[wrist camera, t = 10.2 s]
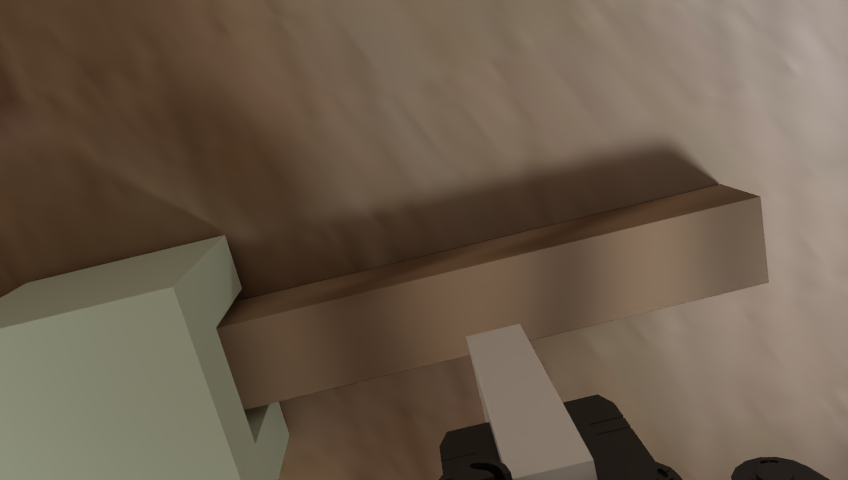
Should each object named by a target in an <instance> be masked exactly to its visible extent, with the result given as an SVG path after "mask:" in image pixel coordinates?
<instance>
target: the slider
mask: <svg viewBox="0 0 848 480" xmlns="http://www.w3.org/2000/svg"><path fill="white" fill-rule="evenodd" d="M241 289H242V287H241V284H240V281H239V277H238V274H237V271H236V268H235V265H234V262H233V259H232V256H231V253H230V250H229V246H228V243H227V240H226V237H225V235H223V236H218V237H214V238H210V239H206V240H202V241H198V242H194V243H189V244H185V245H181V246H177V247H173V248H169V249H165V250H160V251H156V252H152V253H148V254H144V255H140V256H136V257H132V258H127V259H123V260H119V261H115V262H111V263H107V264H103V265H98V266H94V267H90V268H86V269H82V270H78V271H74V272H69V273H65V274H61V275H57V276H53V277H49V278H45V279H40V280H36V281H32V282H28V283H25V284H24V285H22V286H20V287H18V288H17V289H15V290H13V291H11V292H10V293H8V294H6V295H4V296H3V297H1V298H0V480H278V479H279V475H280V471H281V467H282V463H283V459H284V456H285V452H286V448H287V444H288V440H289V432H288V429H287V426H286V423H285V420H284V417H283V414H282V411H281V408H280V405H279V402H276V403H271V404H267V405H263V406H259V407H255V408H251V409H247V410H244V409H243V406H242V403H241V400H240V397H239V394H238V391H237V389H236V386H235V383H234V380H233V377H232V374H231V371H230V368H229V365H228V362H227V359H226V356H225V353H224V350H223V347H222V344H221V341H220V338H219V335H218V333H217V330H216V327H217V326H218V324H219V323H220V321H221V320H222V318H223V317H224V315H225V314H226V312H227V311H228V309H229V307H230V306H231V304H232V303H233V301H234V300H235V298H236V297H237V295H238V294H239V292H240V291H241Z"/></svg>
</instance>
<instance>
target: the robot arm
mask: <svg viewBox="0 0 848 480" xmlns="http://www.w3.org/2000/svg"><path fill="white" fill-rule="evenodd" d="M466 339H467V344H468V348H469V352H470V357H471V361H472V365H473V369H474V374H475V378H476V382H477V386H478V391H479V395H480V399H481V404H482V408H483V412H484V416H485V421H486V423H483V424H479V425H474V426H470V427H466V428H462V429H457V430H453V431H449V432H447V433H446V435H445V437H444V439H443V441H442V443H441V445H440V454H441V461H442V469H443V475H442V476H441V478H440V479H439V480H682V478H681V477H680V476H679V475H678V474H677V473H676V472H675V471H674V470H673V469H671V468H670V467H668V466H666V465H663V464H660V463H658V462H655V461H654V459H653V458H652V456H651V455H650V453H649V452H648V451H647V449H646V448H645V446H644V445H643V444H642V442H641V441H640V439H639V438H638V436H637V435H636V434H635V432H634V431H633V429H631V427H630V425H629V424H628V422H627V421H626V419H625V418H623V415H622V414H621V412H620V411H619V410H618V408H617V407H616V405H615V404H614V403H613V402H611V401H609V400H607V399H605V398H603V397H601V396H599V395H594V396H590V397H585V398H581V399H577V400H573V401H569V402H564V403H562V401H561V399H560V397H559V395H558V393H557V392H556V390H555V388H554V386H553V384H552V382H551V380H550V379H549V377H548V375H547V373H546V371H545V369H544V368H543V366H542V364H541V362H540V360H539V358H538V356H537V355H536V353H535V351H534V349H533V347H532V345H531V344H530V342H529V340H528V338H527V336H526V334H525V333H524V331H523V329H522V327H521V325H520V324H516V325H512V326H508V327H504V328H500V329H495V330H491V331H487V332H483V333H479V334H474V335H470V336H466ZM731 479H732V480H829V479H828V478H826V477H824V476H823V475H821V474H819V473H818V472H816V471H814V470H812V469H811V468H809V467H807V466H805V465H803V464H800V463H798V462H796V461H793V460H789V459H783V458H778V457H759V458H756V459H752V460H748V461H745V462H743V463H742V464H740V465H739V466H737V467H736V468H735V470H734V472H733V474H732V476H731Z"/></svg>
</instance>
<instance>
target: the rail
mask: <svg viewBox="0 0 848 480" xmlns="http://www.w3.org/2000/svg"><path fill="white" fill-rule="evenodd" d="M764 283H769V280H768V270H767V260H766V250H765V239H764V229H763V219H762V209H761V199H760V196H757V195H754V194H750V193H747V192H744V191H741V190H738V189H734V188H731V187H728V186H725V185H721V184H720V185H715V186H711V187H707V188H703V189H699V190H695V191H691V192H686V193H682V194H678V195H674V196H670V197H666V198H662V199H658V200H653V201H649V202H645V203H641V204H637V205H633V206H629V207H625V208H620V209H616V210H612V211H608V212H604V213H600V214H596V215H592V216H587V217H583V218H579V219H575V220H571V221H567V222H563V223H559V224H554V225H550V226H546V227H542V228H538V229H534V230H530V231H525V232H521V233H517V234H513V235H509V236H505V237H501V238H497V239H492V240H488V241H484V242H480V243H476V244H472V245H468V246H464V247H459V248H455V249H451V250H447V251H443V252H439V253H435V254H431V255H426V256H422V257H418V258H414V259H410V260H406V261H402V262H398V263H393V264H389V265H385V266H381V267H377V268H373V269H369V270H364V271H360V272H356V273H352V274H348V275H344V276H340V277H336V278H331V279H327V280H323V281H319V282H315V283H311V284H307V285H303V286H298V287H294V288H290V289H286V290H282V291H278V292H274V293H270V294H265V295H261V296H257V297H253V298H249V299H245V300H241V301H237V302H233V303H232V304H231V306H230V307H229V309H228V311H227V312H226V314H225V315H224V317H223V318H222V320H221V321H220V323H219V324H218V326H217V327H216V330H217V333H218V335H219V338H220V341H221V344H222V347H223V350H224V353H225V356H226V359H227V362H228V365H229V368H230V371H231V374H232V377H233V380H234V383H235V386H236V389H237V391H238V394H239V397H240V400H241V403H242V406H243V409H244V410H247V409H251V408H255V407H259V406H263V405H267V404H271V403H276V402H280V401H284V400H288V399H292V398H296V397H300V396H304V395H308V394H312V393H317V392H321V391H325V390H329V389H333V388H337V387H341V386H345V385H349V384H354V383H358V382H362V381H366V380H370V379H374V378H378V377H382V376H386V375H391V374H395V373H399V372H403V371H407V370H411V369H415V368H419V367H423V366H428V365H432V364H436V363H440V362H444V361H448V360H452V359H456V358H460V357H465V356H469V355H470V352H469V348H468V344H467V339H466V336H470V335H474V334H479V333H483V332H487V331H491V330H495V329H500V328H504V327H508V326H512V325H516V324H520V325H521V327H522V329H523V331H524V333H525V334H526V336H527V338H528V340H529V341H530V340H534V339H538V338H543V337H547V336H551V335H555V334H559V333H563V332H567V331H571V330H575V329H580V328H584V327H588V326H592V325H596V324H600V323H604V322H608V321H612V320H617V319H621V318H625V317H629V316H633V315H637V314H641V313H645V312H649V311H654V310H658V309H662V308H666V307H670V306H674V305H678V304H682V303H686V302H690V301H695V300H699V299H703V298H707V297H711V296H715V295H719V294H723V293H727V292H732V291H736V290H740V289H744V288H748V287H752V286H756V285H760V284H764Z"/></svg>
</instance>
